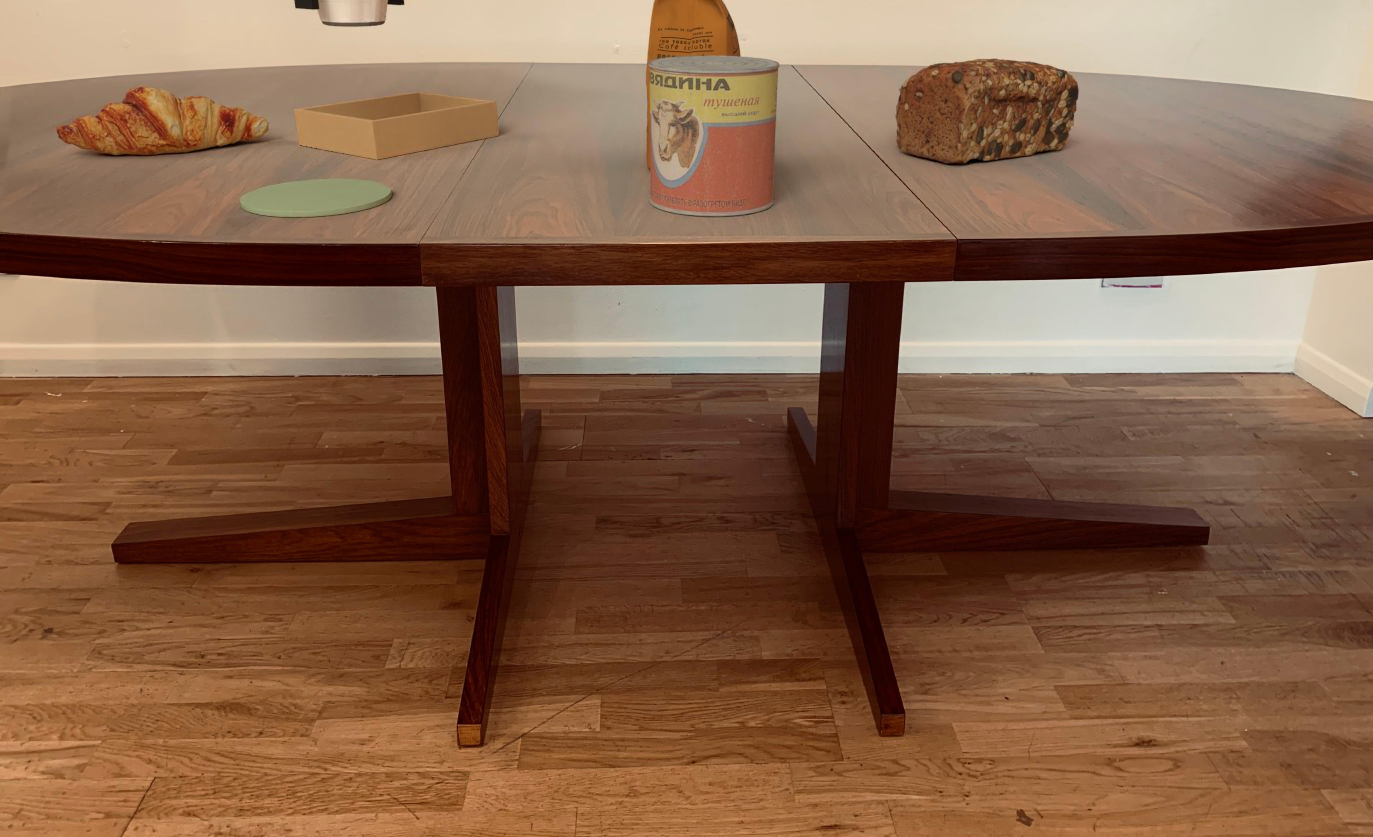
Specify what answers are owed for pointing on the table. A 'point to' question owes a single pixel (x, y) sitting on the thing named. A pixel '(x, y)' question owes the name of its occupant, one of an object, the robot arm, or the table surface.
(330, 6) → the cup
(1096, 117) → the table surface
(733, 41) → the coffee package
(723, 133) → the canned food
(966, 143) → the bread
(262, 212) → the mat
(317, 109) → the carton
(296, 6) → the robot arm
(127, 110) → the croissant
